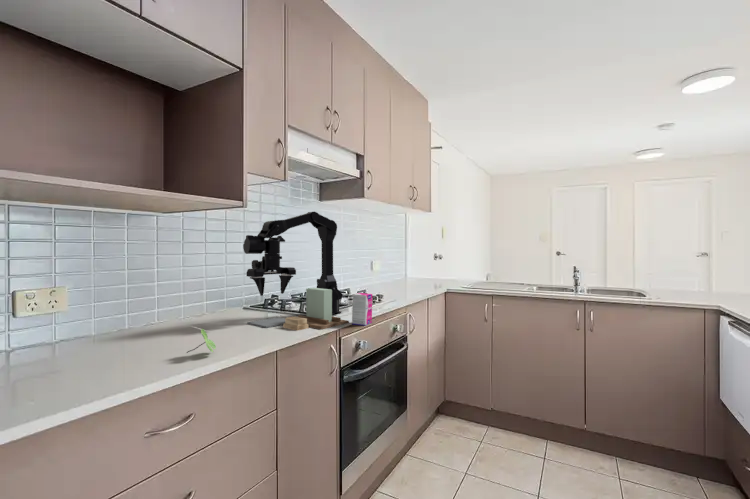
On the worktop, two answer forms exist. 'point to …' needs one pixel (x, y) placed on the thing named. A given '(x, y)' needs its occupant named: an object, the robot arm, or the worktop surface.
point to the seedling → (206, 341)
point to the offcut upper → (295, 321)
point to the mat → (268, 322)
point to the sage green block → (319, 303)
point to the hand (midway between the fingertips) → (272, 294)
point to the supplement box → (362, 309)
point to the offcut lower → (296, 326)
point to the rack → (323, 322)
